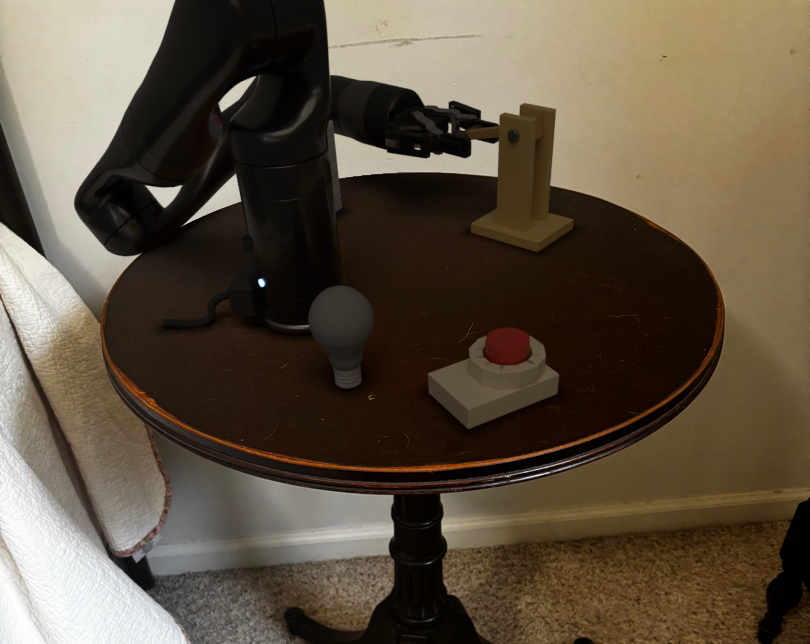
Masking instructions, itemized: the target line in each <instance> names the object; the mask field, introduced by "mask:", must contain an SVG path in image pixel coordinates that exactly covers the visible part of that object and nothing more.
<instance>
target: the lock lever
mask: <svg viewBox="0 0 810 644" xmlns="http://www.w3.org/2000/svg"><path fill="white" fill-rule="evenodd" d="M525 117H530V118H535V119H537V122H536V138H535V140H537V139H539V138H541V137H543V136H544V135H543V127H542V119H541V114H533V115H525ZM457 135H461V136H465V137H468V138H470V139H471V141H475V140H476V141H478V140H477V139H486V138H496V137H499V126H496V127H487V128H482V126H481V125H479V124H477V125H474V126H472V127H470V128H468V129H466V130H465V129H463V131H462V132H460V133H458V134H457Z"/></svg>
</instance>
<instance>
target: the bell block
mask: <svg viewBox="0 0 810 644" xmlns="http://www.w3.org/2000/svg"><path fill="white" fill-rule="evenodd" d="M486 336H487V335H484V336H481V337H479V338H477V339H476V340H475V342H474V343H473V344H471V346H470V347H469V348H468V358H466V359H464V360H461V361H458V362H455V363H453V364H449V365H447V366H445V367H441V368H439V369H436V370H433V371H430V372H428V373H427V386H428V387H427V389H428V394H429V395H430V396H431V397H433V398H434V399H435V400H436V402H438V403H439V404H440V405H441V406H442V407H443V408H445V409H446V410H447V411H448V412H449V414H451V415H452V416H453V417H455V419H456V420H457V421H459V422H460V424H462V425H463V426H464V427H465V428H466V429H467V430H470V429H472V428H473V429H474V428H475V427H478V426H480V425H482V424H485V423H488V422H490V421H493V420H495V419H498V418H500V417H503V416H505V415H508V414H510V413H512V412H516V411H518V410H521V409H523V408H526V407H527V406H530V405H533V404H536V403H539V402H540V401H543V400H546V399H548V398H550V397H554V396H555V395H557V394H558V391H559V381H560V374H559V373H558V372H557V371H555V370H554V369H553V368H551V367H550V366H549V365H547V364H546V361H547V354H546V350H545V346H544V344H543V343H541V342H540V341H539V340H537V339H536V338H535V337H533V336H531V335H529V337H530V347H529V357H528V359H527V361H526V362H523V363H520V364H518V365H506V366H501V365H497V364H494V363H490V362H489V361H488V360H487V359H486V357H485V343H486Z"/></svg>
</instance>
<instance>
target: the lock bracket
mask: <svg viewBox="0 0 810 644" xmlns="http://www.w3.org/2000/svg"><path fill="white" fill-rule="evenodd" d="M533 114H541V119H542V127H543V135H544V136H543V137H541V138H539V139H537V140H535V138H536V122H537V119H535V118H530V117H525V115H533ZM556 115H557V109H556V108H554V107H548V106H542V105H538V104H532V103H527V102H523V103H521V104H519V114H515V113H509V112H502V113H501V114H500V113H499V120H498V125H499V141H498V150H497V151H498V153H497V155H498V157H497V183H496V184H497V186H496V187H497V188H496V189H497V191H496V208H495V209H493V210H491V211H490V212H488V213H486V214H485V215H483V216H481V217H479V218H477V219H476V220H474V221H472V222H471V223H470V233H472V234H475V235H477V236H482V237H485V238H488V239H492V240H495V241H499V242H502V243H505V244H508V245H512V246H515V247H518V248H521V249H525V250H528V251H532V252H535V253H539V252H540V251H541V250H543V249H545V248H546V247H547V246H549V245H551V244H552V243H554V242H555V241H557V240H559V239H560V238H562V237H563V236H564V235H566V234H567V233H568V232H570V231H572V230H573V229H574V223H575V221H574V219H573V218H569V217H566V216H563V215H559V214H555V213H551V212H549V209H550V195H551V183H552V170H553V156H554V144H555V129H556V117H557V116H556Z"/></svg>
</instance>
